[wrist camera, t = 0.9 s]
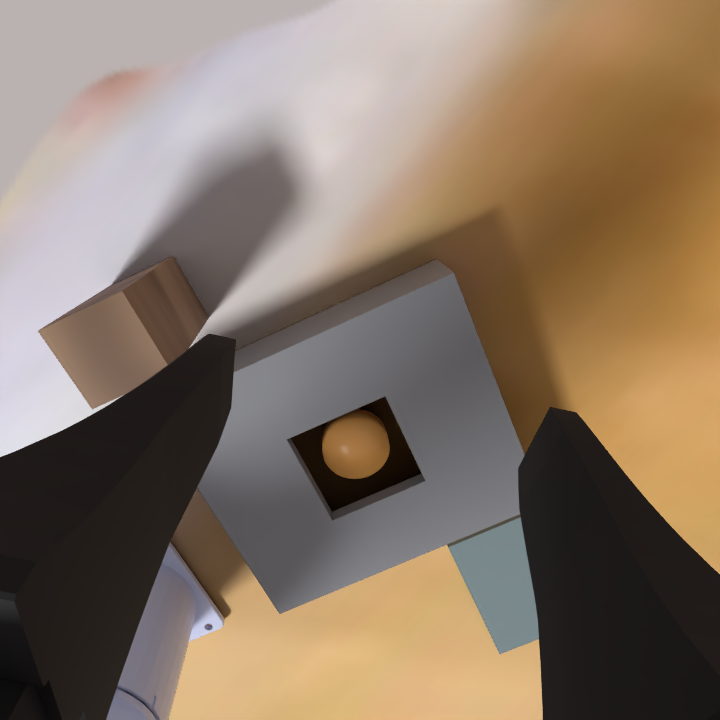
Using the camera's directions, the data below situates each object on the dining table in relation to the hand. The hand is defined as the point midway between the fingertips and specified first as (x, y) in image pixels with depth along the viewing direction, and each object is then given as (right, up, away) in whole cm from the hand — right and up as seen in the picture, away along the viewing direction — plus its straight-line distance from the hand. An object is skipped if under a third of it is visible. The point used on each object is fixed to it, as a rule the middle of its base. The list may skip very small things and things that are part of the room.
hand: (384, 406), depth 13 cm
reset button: (-1, -3, +18) cm, 19 cm away
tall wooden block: (-11, +4, +16) cm, 20 cm away
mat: (+12, -13, +24) cm, 30 cm away
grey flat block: (-1, -3, +20) cm, 20 cm away
